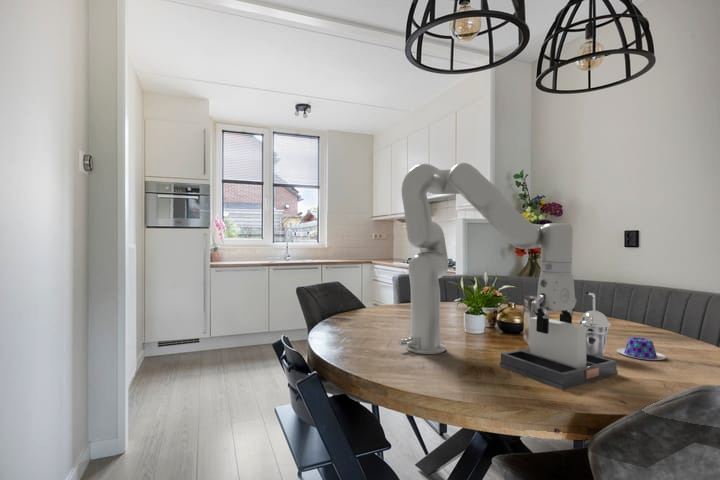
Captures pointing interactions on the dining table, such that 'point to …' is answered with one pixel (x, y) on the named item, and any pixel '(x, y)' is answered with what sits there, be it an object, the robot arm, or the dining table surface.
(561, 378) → the tray
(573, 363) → the panel
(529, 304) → the coffee box
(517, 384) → the dining table surface
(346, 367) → the dining table surface
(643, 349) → the pudding
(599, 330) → the cup with straw
